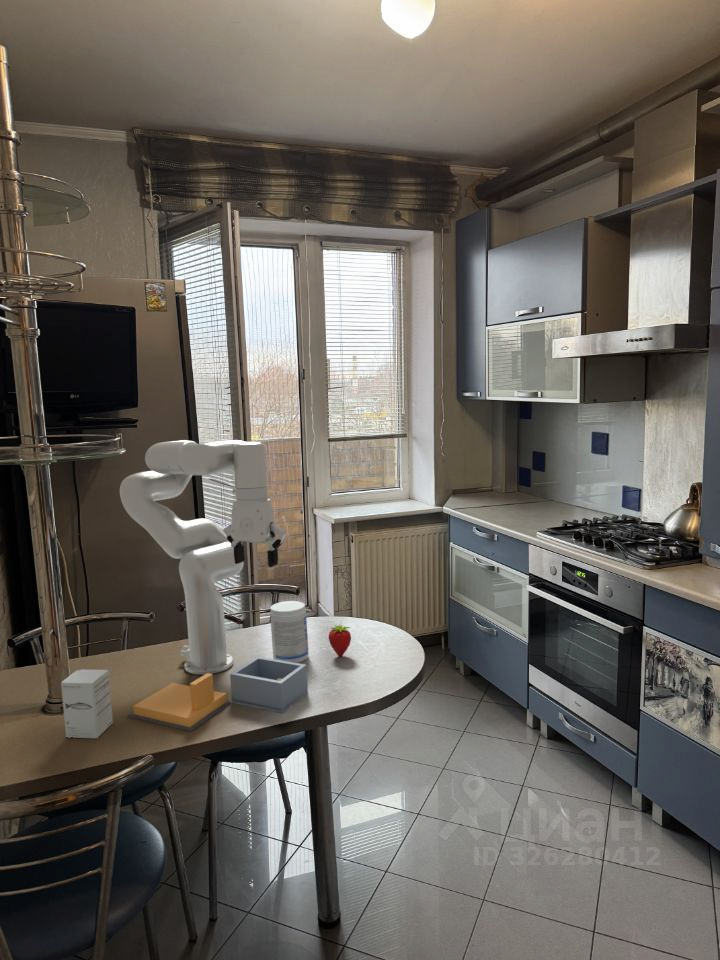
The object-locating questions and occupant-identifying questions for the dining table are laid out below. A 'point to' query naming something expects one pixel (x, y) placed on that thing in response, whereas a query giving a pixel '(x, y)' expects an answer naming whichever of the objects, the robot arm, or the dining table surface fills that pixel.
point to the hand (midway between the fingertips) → (256, 564)
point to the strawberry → (339, 639)
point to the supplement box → (87, 703)
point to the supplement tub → (289, 631)
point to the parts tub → (269, 684)
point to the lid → (182, 702)
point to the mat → (177, 724)
